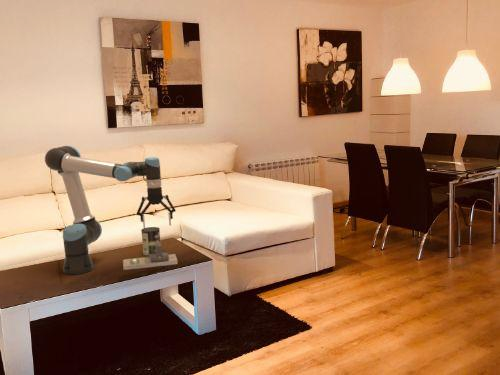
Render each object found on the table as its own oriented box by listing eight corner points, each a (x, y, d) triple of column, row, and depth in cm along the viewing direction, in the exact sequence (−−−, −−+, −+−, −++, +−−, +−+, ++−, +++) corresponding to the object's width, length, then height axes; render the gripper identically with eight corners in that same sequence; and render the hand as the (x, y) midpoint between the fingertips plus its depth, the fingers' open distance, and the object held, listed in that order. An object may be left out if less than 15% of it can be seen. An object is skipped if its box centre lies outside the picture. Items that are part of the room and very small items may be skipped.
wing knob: (149, 257, 277) (148, 242, 276) (168, 255, 280) (167, 240, 278) (150, 262, 268) (149, 247, 266) (169, 260, 270) (168, 245, 269)
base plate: (123, 270, 264) (122, 264, 263) (123, 263, 275) (123, 257, 275) (177, 264, 270) (177, 258, 270) (175, 257, 282) (175, 251, 281)
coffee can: (163, 250, 296) (162, 226, 294) (157, 255, 287) (155, 231, 284) (147, 250, 299) (145, 226, 296) (140, 255, 289) (138, 231, 286)
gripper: (130, 190, 261) (133, 230, 264) (178, 186, 266) (181, 225, 270) (129, 187, 268) (133, 227, 271) (177, 184, 274) (180, 222, 277)
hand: (157, 226), depth 271 cm, fingers open, 13 cm apart
